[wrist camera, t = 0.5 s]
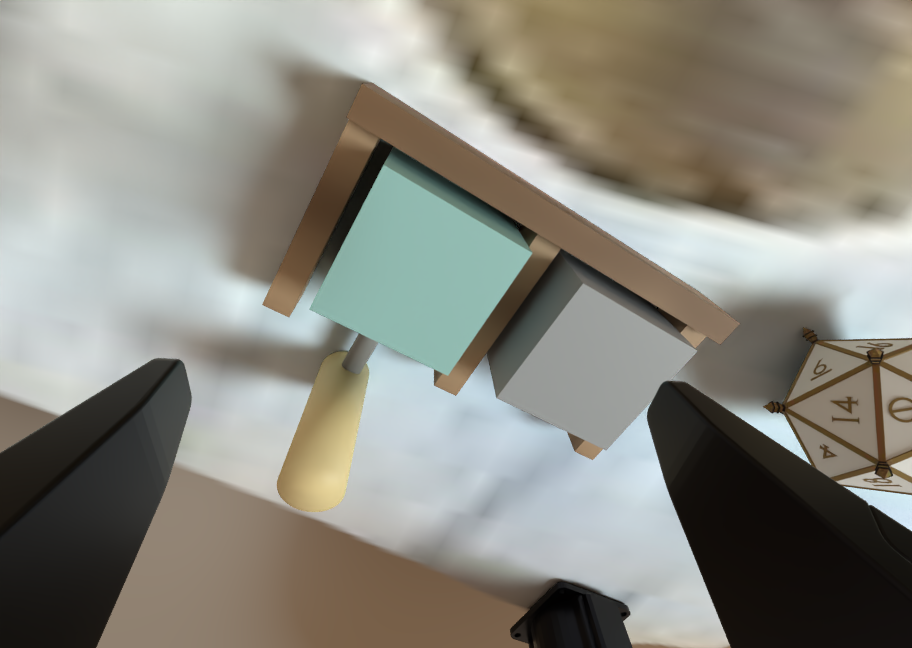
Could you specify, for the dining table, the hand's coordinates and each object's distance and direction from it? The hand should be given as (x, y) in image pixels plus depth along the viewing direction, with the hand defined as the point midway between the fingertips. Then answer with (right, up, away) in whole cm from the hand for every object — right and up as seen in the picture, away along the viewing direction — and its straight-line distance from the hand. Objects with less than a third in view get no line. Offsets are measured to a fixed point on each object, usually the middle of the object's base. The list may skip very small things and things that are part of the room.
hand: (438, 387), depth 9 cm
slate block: (+6, +1, +15) cm, 16 cm away
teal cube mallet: (-3, +2, +14) cm, 15 cm away
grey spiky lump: (+20, -1, +17) cm, 27 cm away
